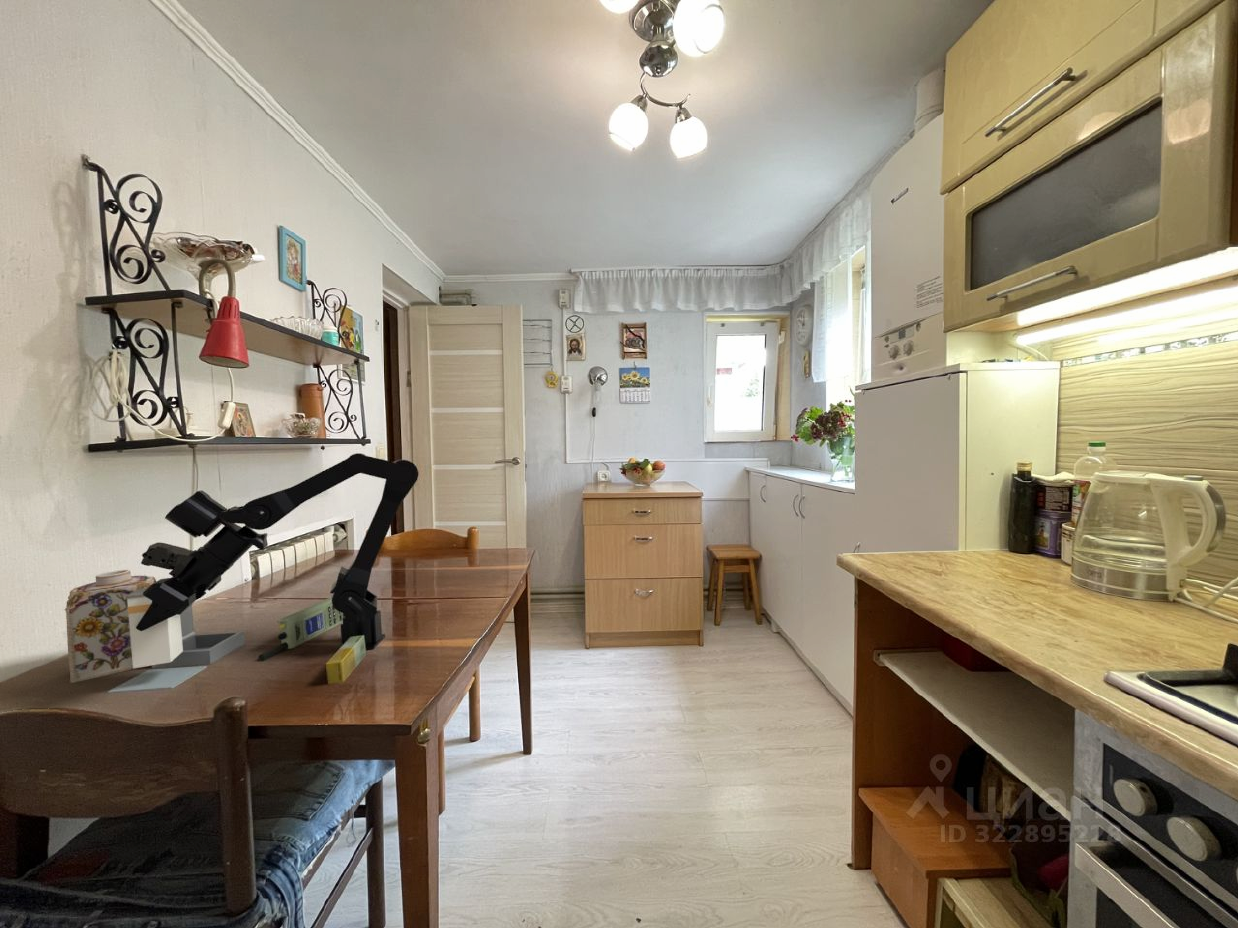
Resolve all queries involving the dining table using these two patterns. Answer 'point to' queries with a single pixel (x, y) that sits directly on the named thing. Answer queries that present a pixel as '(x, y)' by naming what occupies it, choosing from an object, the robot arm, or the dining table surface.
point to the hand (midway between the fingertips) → (145, 624)
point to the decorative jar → (101, 625)
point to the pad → (158, 679)
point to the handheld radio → (305, 626)
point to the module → (152, 634)
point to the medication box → (346, 659)
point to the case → (202, 644)
